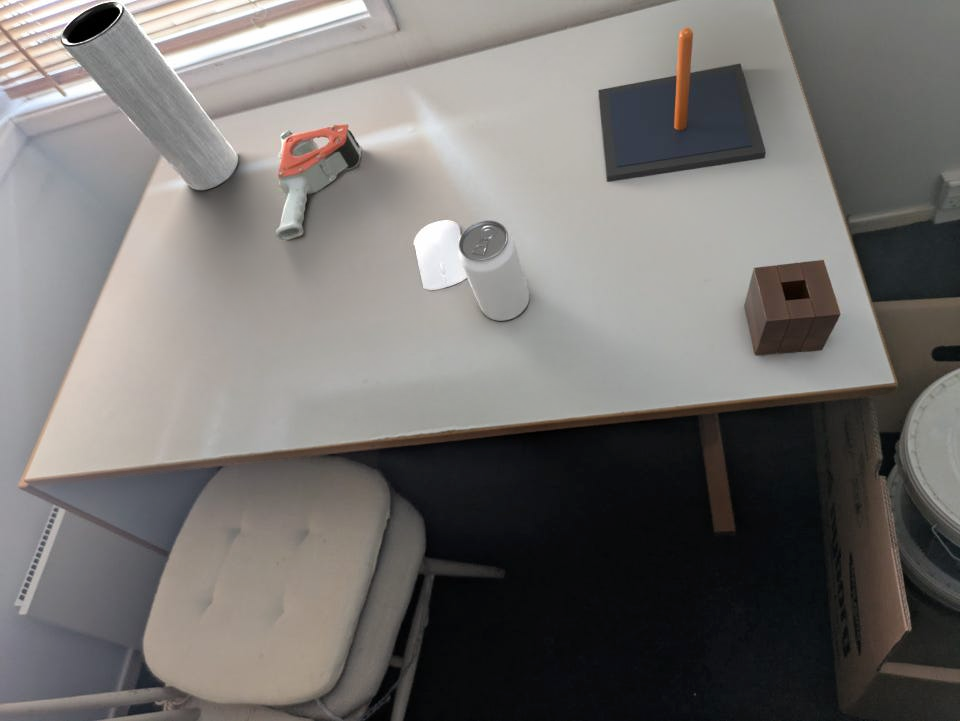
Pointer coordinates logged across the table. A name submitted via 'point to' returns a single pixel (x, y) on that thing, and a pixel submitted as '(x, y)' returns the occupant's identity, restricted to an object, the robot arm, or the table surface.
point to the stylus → (683, 78)
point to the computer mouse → (439, 255)
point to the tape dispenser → (311, 169)
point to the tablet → (650, 124)
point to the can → (494, 270)
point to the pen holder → (791, 308)
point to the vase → (149, 93)
